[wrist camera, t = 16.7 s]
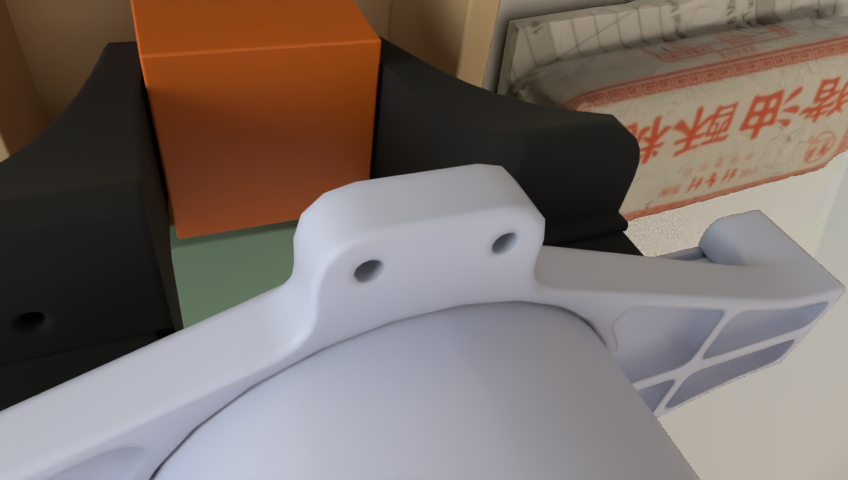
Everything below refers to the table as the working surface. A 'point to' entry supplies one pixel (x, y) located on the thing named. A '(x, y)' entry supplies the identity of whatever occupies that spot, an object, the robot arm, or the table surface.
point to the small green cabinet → (230, 267)
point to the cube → (257, 105)
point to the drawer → (113, 22)
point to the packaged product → (695, 87)
